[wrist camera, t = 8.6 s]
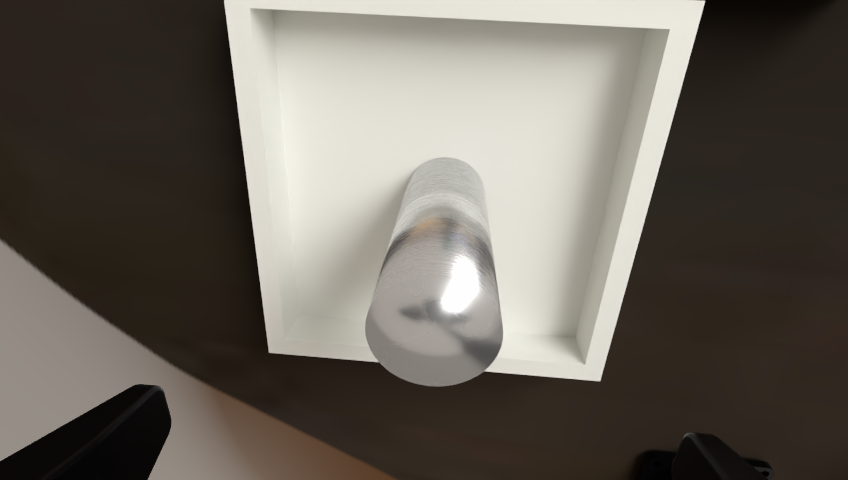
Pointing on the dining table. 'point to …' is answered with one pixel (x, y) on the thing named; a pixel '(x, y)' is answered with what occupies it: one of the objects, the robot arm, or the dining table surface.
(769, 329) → the dining table surface
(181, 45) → the dining table surface
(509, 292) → the tray
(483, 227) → the pin
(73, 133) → the dining table surface
